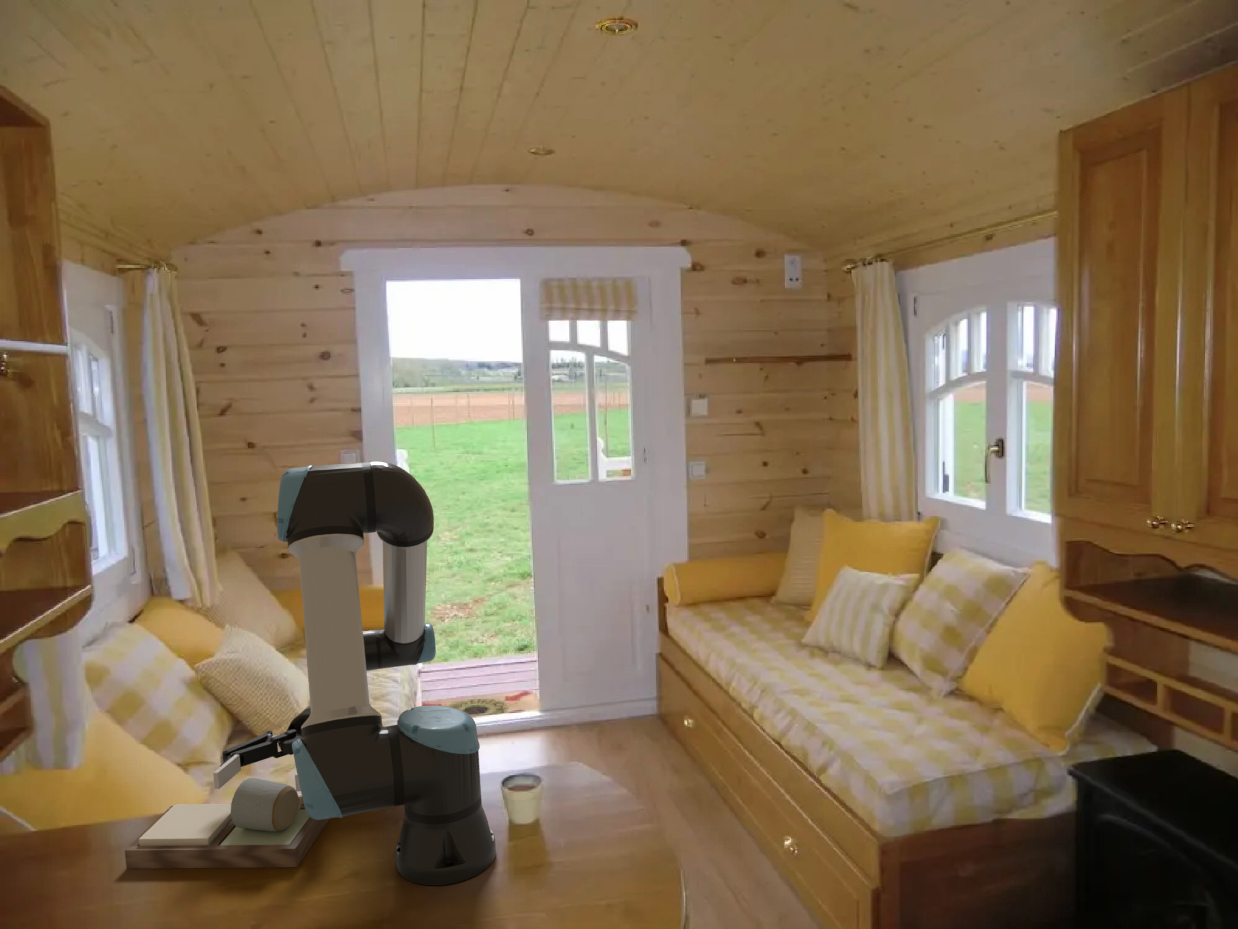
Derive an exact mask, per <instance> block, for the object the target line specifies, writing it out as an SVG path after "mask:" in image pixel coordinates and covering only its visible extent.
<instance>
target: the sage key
mask: <svg viewBox="0 0 1238 929" xmlns="http://www.w3.org/2000/svg"><path fill="white" fill-rule="evenodd" d="M309 819H310V817H309V816H308V814H307V813H306V810H305V809H300V810H299V811H297V814H296V816H295V818H294V820H293V822H292V823H291V825H290V826H289V827H288V828H286V829H285V830H283V831H277V832H271V831H264V830H254V829H246V828H239V827H237V826H236V827H235V828H234V830H233V831H232V832H231V833H230V834H229V835H228V836H227V838H226V839H225V840H224V841H223V842H222V843H221V844H220V845H291V843H292V842H293V840H294V839H295V838H296V836H297V835H298V834H299V832H300V831H301V829H302V828H303V827H304V825H305V824H306V823H307V821H308V820H309Z"/></svg>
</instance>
